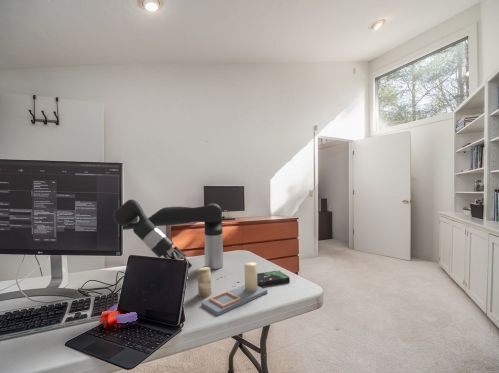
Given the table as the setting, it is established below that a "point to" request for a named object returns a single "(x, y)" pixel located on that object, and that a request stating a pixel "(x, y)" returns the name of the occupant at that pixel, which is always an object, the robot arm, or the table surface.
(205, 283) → the maple column
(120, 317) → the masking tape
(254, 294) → the base plate
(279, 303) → the table surface
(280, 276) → the disk drive
